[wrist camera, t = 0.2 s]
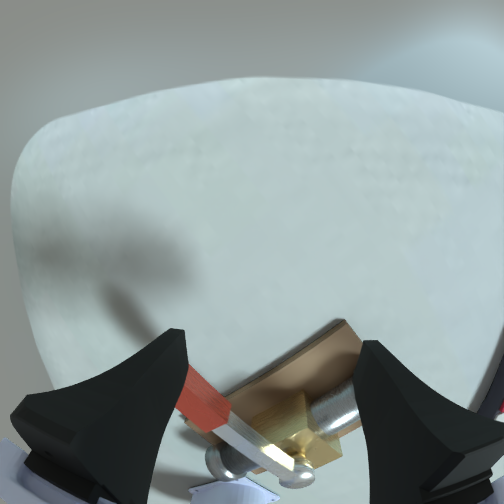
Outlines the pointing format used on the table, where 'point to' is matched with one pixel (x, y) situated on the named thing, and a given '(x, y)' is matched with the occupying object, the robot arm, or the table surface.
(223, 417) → the lever
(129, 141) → the table surface
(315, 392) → the board
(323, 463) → the valve
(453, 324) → the table surface
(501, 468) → the table surface
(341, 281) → the table surface
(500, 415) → the calculator
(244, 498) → the robot arm
